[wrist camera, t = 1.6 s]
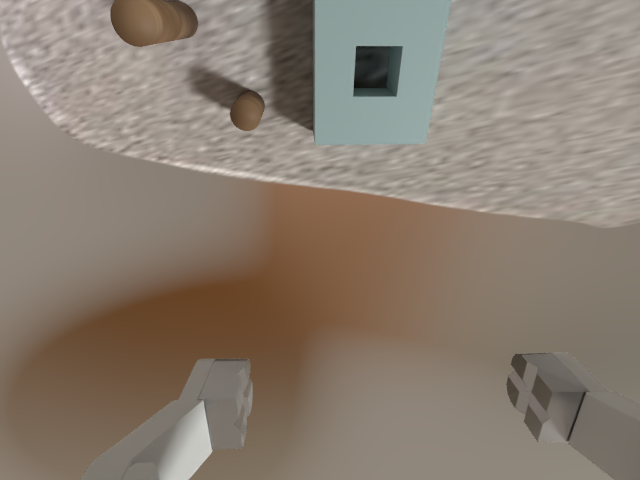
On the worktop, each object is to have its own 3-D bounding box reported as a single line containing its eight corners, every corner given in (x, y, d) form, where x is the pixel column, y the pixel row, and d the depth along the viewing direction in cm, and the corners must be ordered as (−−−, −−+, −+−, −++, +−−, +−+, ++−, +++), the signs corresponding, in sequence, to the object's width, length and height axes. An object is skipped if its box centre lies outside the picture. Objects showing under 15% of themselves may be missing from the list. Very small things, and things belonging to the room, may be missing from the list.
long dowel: (163, 2, 33) (104, -5, 23) (194, 2, 33) (149, -4, 23) (170, 37, 35) (118, 46, 25) (200, 38, 35) (160, 46, 25)
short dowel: (236, 90, 38) (228, 100, 34) (263, 90, 38) (259, 100, 34) (239, 118, 39) (232, 130, 35) (265, 118, 40) (261, 130, 35)
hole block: (312, -16, 33) (315, -20, 29) (435, -14, 34) (454, -18, 29) (313, 131, 41) (314, 144, 36) (412, 131, 41) (425, 143, 37)
